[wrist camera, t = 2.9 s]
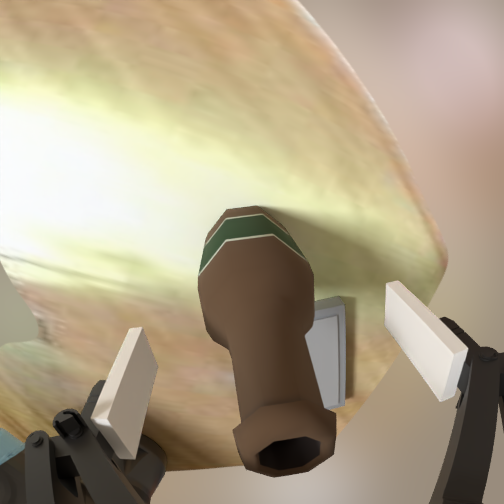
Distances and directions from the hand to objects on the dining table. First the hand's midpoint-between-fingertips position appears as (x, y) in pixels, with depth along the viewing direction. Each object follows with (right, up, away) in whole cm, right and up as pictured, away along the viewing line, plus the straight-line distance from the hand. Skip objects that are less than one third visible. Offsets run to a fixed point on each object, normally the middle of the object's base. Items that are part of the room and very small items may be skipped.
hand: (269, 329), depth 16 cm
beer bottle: (-1, +5, +15) cm, 16 cm away
